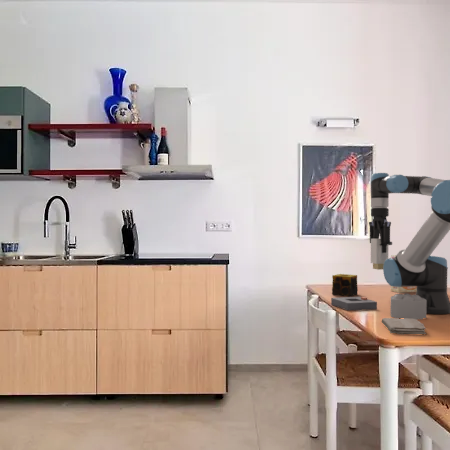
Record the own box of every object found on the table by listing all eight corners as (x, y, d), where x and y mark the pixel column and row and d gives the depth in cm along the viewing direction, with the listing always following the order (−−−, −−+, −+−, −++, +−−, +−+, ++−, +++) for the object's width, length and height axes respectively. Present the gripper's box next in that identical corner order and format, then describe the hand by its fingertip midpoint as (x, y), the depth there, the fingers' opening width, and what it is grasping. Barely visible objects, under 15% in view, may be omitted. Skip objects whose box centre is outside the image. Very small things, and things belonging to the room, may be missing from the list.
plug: (388, 268, 207) (388, 238, 207) (394, 269, 202) (394, 238, 202) (370, 268, 204) (370, 238, 204) (376, 269, 200) (376, 238, 200)
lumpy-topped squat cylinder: (390, 313, 184) (390, 291, 184) (424, 315, 180) (425, 293, 180) (391, 318, 174) (391, 295, 174) (427, 320, 170) (428, 297, 170)
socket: (376, 308, 192) (376, 300, 192) (347, 310, 189) (347, 301, 189) (359, 303, 206) (359, 294, 206) (331, 304, 202) (331, 296, 202)
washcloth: (390, 335, 148) (391, 326, 148) (380, 323, 166) (380, 315, 166) (429, 337, 147) (429, 327, 147) (414, 325, 164) (414, 316, 164)
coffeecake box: (398, 292, 238) (398, 256, 238) (390, 291, 245) (390, 255, 245) (422, 291, 242) (422, 255, 242) (413, 290, 249) (413, 254, 249)
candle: (350, 296, 225) (350, 276, 225) (331, 294, 231) (331, 275, 231) (358, 294, 233) (358, 275, 233) (339, 292, 239) (339, 273, 239)
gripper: (399, 207, 195) (398, 261, 195) (375, 208, 212) (375, 258, 212) (384, 206, 193) (383, 261, 193) (361, 208, 210) (361, 258, 210)
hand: (379, 259), depth 203 cm, fingers closed on plug, 4 cm apart
